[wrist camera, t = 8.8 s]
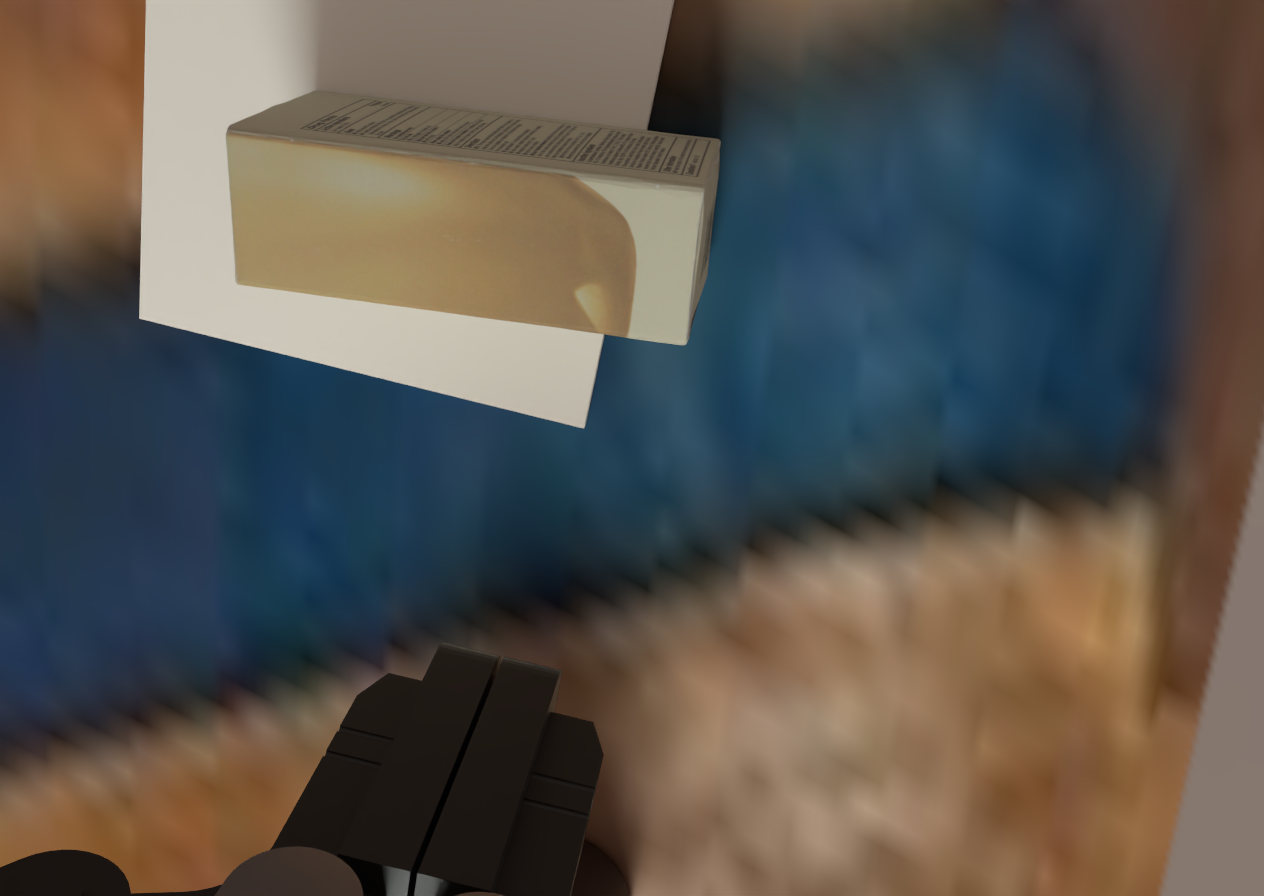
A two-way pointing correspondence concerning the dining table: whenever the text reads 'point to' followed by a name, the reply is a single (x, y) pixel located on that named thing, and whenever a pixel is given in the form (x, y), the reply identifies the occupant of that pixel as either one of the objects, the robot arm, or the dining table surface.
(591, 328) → the skincare box
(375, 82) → the mat
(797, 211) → the dining table surface
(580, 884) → the vinegar
